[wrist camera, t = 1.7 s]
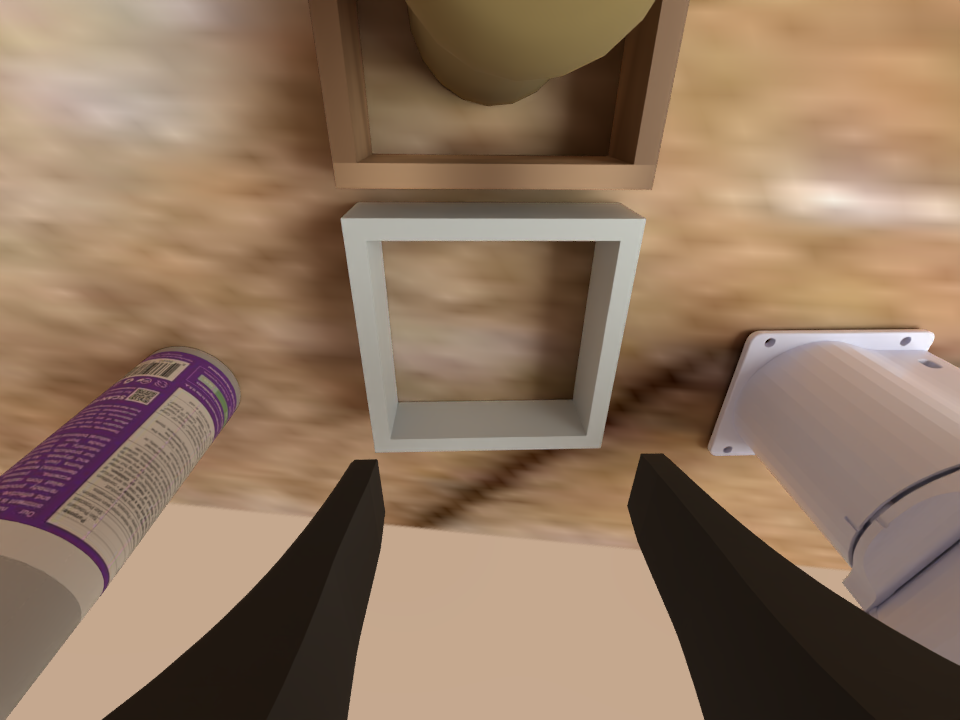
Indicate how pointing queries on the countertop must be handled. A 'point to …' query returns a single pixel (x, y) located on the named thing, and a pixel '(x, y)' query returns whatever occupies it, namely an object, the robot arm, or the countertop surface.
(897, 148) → the countertop surface
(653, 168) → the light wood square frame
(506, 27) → the olive rounded piece
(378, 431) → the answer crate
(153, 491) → the container
